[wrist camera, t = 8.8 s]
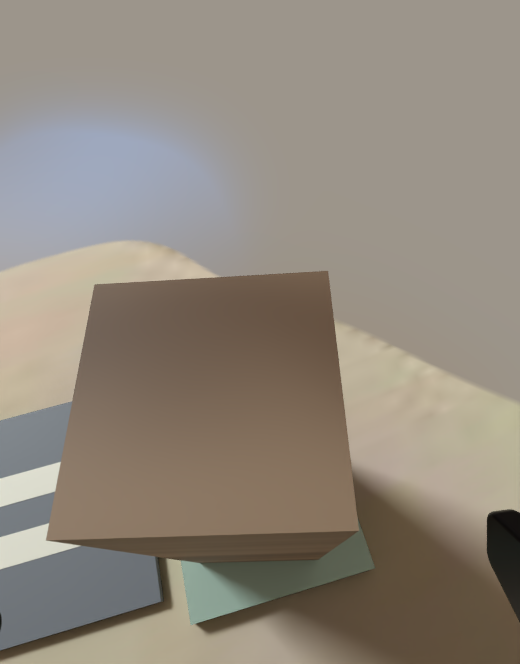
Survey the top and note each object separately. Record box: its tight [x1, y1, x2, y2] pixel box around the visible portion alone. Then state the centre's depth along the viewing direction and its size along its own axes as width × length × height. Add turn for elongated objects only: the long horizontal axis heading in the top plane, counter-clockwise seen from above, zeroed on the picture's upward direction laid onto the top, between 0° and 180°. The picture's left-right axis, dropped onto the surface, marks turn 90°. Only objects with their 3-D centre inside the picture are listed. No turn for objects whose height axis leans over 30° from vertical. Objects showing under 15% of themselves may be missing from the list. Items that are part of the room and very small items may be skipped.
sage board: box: [181, 517, 375, 625], centre depth 18 cm, size 7×7×1 cm
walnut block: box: [46, 271, 359, 563], centre depth 13 cm, size 4×4×12 cm
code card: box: [0, 402, 164, 651], centre depth 19 cm, size 9×9×1 cm
